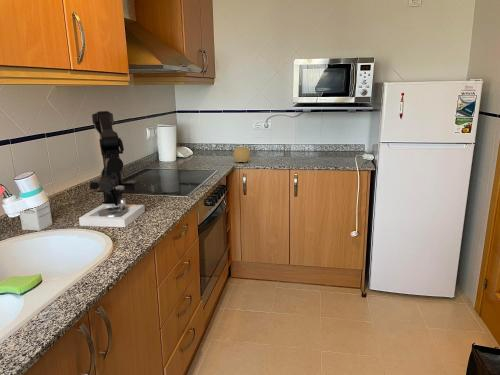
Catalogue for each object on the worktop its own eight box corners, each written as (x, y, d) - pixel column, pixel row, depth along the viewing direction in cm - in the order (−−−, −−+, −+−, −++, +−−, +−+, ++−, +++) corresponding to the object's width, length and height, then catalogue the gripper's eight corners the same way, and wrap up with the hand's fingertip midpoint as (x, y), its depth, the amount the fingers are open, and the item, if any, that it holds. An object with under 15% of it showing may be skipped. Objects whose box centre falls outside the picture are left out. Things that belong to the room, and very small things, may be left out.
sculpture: (250, 160, 264) (250, 145, 262) (250, 163, 253) (249, 147, 250) (234, 160, 265) (233, 145, 262) (233, 164, 253) (232, 148, 250)
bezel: (79, 225, 142) (78, 217, 141) (104, 210, 159) (103, 203, 158) (125, 227, 139) (124, 218, 138) (144, 211, 157) (144, 204, 156)
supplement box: (21, 230, 138) (15, 197, 135) (36, 223, 145) (30, 191, 142) (39, 231, 137) (33, 197, 134) (53, 224, 144) (48, 192, 141)
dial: (107, 221, 141) (106, 207, 140) (93, 216, 148) (91, 202, 147) (133, 214, 149) (132, 200, 148) (118, 209, 156) (117, 195, 155)
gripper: (79, 171, 142) (84, 211, 146) (126, 172, 139) (129, 212, 143) (94, 165, 152) (99, 202, 156) (138, 166, 150) (142, 204, 154)
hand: (116, 205), depth 152 cm, fingers closed
